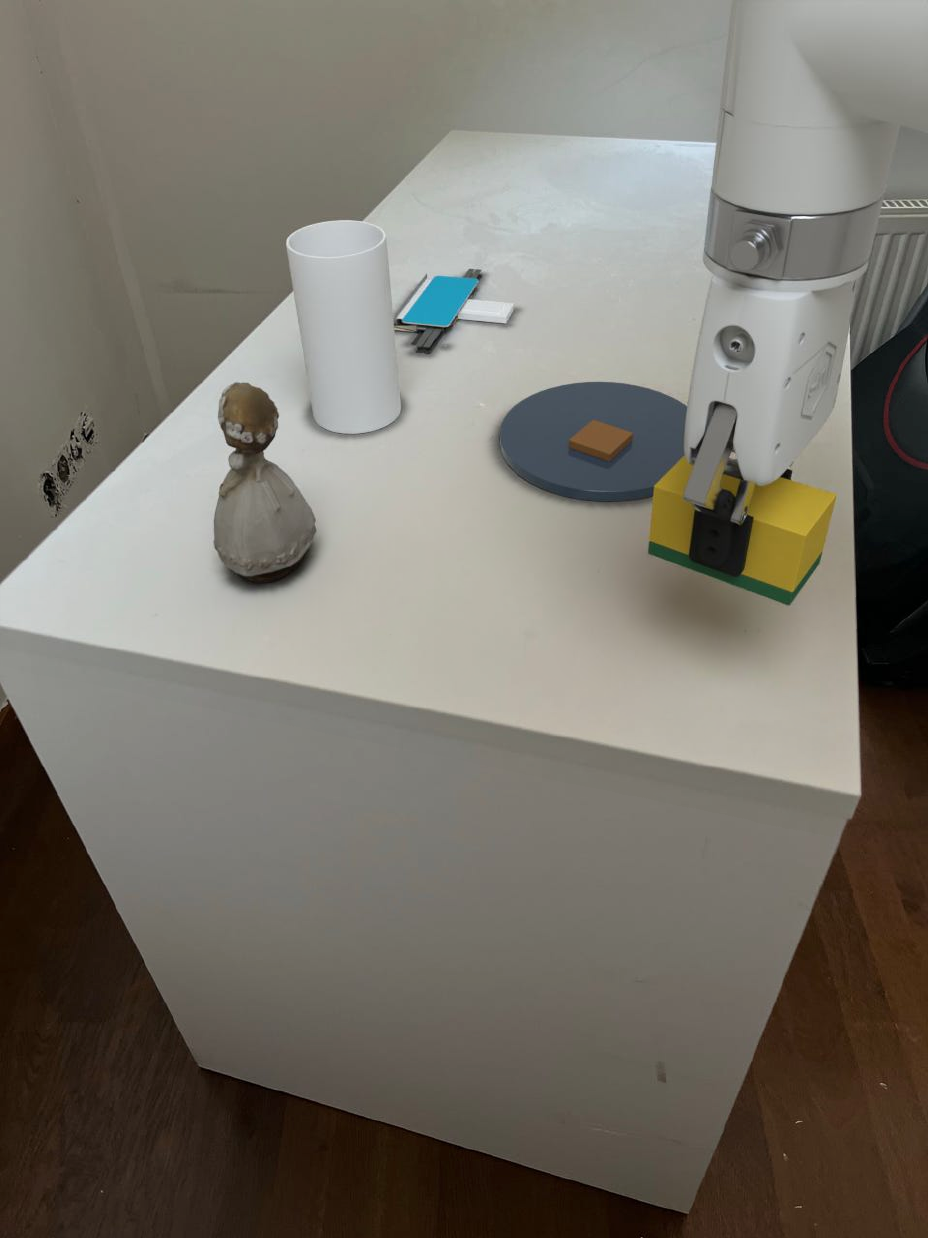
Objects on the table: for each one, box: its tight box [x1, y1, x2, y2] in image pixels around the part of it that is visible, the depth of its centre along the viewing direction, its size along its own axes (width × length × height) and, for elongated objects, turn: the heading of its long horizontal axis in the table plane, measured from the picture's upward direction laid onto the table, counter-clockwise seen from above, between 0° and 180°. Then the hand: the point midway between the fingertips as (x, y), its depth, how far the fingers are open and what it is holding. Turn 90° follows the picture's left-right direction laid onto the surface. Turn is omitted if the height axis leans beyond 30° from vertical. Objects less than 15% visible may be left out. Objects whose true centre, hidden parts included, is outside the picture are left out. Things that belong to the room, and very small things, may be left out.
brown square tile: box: [569, 420, 633, 462], centre depth 80 cm, size 4×4×1 cm
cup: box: [285, 219, 402, 435], centre depth 82 cm, size 8×8×16 cm
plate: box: [499, 381, 687, 502], centre depth 82 cm, size 18×18×1 cm
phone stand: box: [393, 268, 515, 354], centre depth 102 cm, size 20×12×2 cm, turn 164°
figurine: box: [213, 381, 318, 584], centre depth 66 cm, size 8×7×15 cm
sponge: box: [647, 455, 837, 607], centre depth 55 cm, size 5×9×5 cm, turn 54°
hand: (735, 540), depth 56 cm, fingers closed on sponge, 4 cm apart
